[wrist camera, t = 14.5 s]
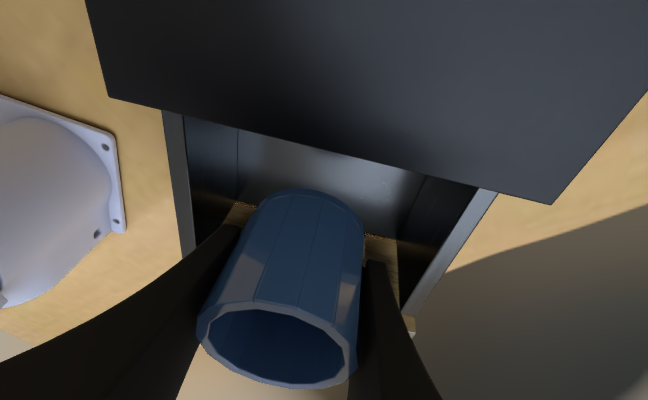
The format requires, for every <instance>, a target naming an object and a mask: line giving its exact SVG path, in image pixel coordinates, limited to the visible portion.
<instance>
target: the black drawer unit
mask: <svg viewBox="0 0 648 400" xmlns="http://www.w3.org/2000/svg"><path fill="white" fill-rule="evenodd" d="M85 4H86V8H87V12H88V16H89V20H90V24H91V28H92V32H93V36H94V40H95V44H96V48H97V52H98V57H99V61H100V65H101V69H102V73H103V77H104V81H105V85H106V89H107V93H108V96H109V97H110V98H114V99H118V100H122V101H126V102H131V103H135V104H139V105H143V106H147V107H151V108H155V109H159V110H163V111H167V112H171V113H175V114H180V115H184V116H188V117H192V118H196V119H200V120H204V121H208V122H212V123H216V124H220V125H224V126H229V127H233V128H237V129H241V130H245V131H249V132H253V133H257V134H261V135H265V136H269V137H273V138H278V139H282V140H286V141H290V142H294V143H298V144H302V145H306V146H310V147H314V148H318V149H322V150H327V151H331V152H335V153H339V154H343V155H347V156H351V157H355V158H359V159H363V160H367V161H371V162H376V163H380V164H384V165H388V166H392V167H396V168H400V169H404V170H408V171H412V172H416V173H420V174H425V175H429V176H433V177H437V178H441V179H445V180H449V181H453V182H457V183H461V184H465V185H469V186H474V187H478V188H482V189H486V190H490V191H494V192H498V193H502V194H506V195H510V196H514V197H518V198H523V199H527V200H531V201H535V202H539V203H543V204H547V205H552V204H553V203H554V202H555V200H556V199H557V198H558V197H559V196H560V194H561V193H562V192H563V191H564V190H565V188H566V187H567V186H568V185H569V184H570V182H571V181H572V180H573V179H574V178H575V177H576V175H577V174H578V173H579V172H580V171H581V169H582V168H583V167H584V166H585V165H586V163H587V162H588V161H589V160H590V159H591V157H592V156H593V155H594V154H595V153H596V152H597V150H598V149H599V148H600V147H601V146H602V144H603V143H604V142H605V141H606V140H607V138H608V137H609V136H610V135H611V134H612V132H613V131H614V130H615V129H616V128H617V127H618V125H619V124H620V123H621V122H622V121H623V119H624V118H625V117H626V116H627V115H628V113H629V112H630V111H631V110H632V109H633V107H634V106H635V105H636V104H637V103H638V102H639V100H640V99H641V98H642V97H643V96H644V94H645V93H646V92H647V91H648V0H85Z"/></svg>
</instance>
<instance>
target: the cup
mask: <svg viewBox="0 0 648 400" xmlns="http://www.w3.org/2000/svg"><path fill="white" fill-rule="evenodd" d="M365 239H366V238H365V231H364V227H363V225H362V223H361V221H360V219H359V217H358V216H357V214H356V213H355V212H354V211H353V210H352V209H351V208H350V207H349V206H348V205H347V204H345V203H344V202H343V201H341V200H340V199H338V198H336V197H334V196H332V195H330V194H327V193H325V192H322V191H318V190H313V189H307V188H292V189H285V190H282V191H278V192H276V193H273V194H271V195H270V196H268V197H266V198H265V199H264V200H263V201H262V202H260V204H259V205H258V206H257V208H256V209H255V211H254V213H252V214H251V216H250V218H249V220H248V222H247V223H246V225H245V227H244V229H243V231H242V233H241V235H240V237H239V239H238V240H237V242H236V244H235V246H234V248H233V250H232V252H231V254H230V256H229V258H228V259H227V261H226V263H225V265H224V267H223V269H222V271H221V273H220V275H219V276H218V278H217V280H216V282H215V284H214V286H213V288H212V290H211V292H210V294H209V295H208V297H207V299H206V301H205V303H204V305H203V307H202V309H201V311H200V313H199V314H198V316H197V324H196V333H195V335H196V337H197V339H198V340H199V342H200V343H201V345H202V346H203V348H204V349H205V351H206V352H207V354H209V355H210V356H211V357H212V358H214V359H215V360H217V361H218V362H220V363H221V364H222V365H224V366H225V367H227V368H228V369H230V370H232V371H233V372H236V373H238V374H241V375H243V376H246V377H248V378H250V379H253V380H255V381H258V382H261V383H265V384H269V385H275V386H280V387H285V388H289V389H323V388H326V387H330V386H333V385H336V384H340V383H343V382H345V381H347V379H348V378H349V377H350V376H351V375H352V374H353V373H354V372H355V371H356V370H357V369H358V366H359V354H360V338H361V321H362V305H363V282H364V268H365V255H366V252H365Z"/></svg>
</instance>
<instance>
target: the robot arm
mask: <svg viewBox="0 0 648 400" xmlns="http://www.w3.org/2000/svg"><path fill="white" fill-rule="evenodd" d="M111 231H112V232H115V233H118V234H123V233H124V232H125V231H126V222H125V214H124V205H123V197H122V189H121V181H120V173H119V164H118V156H117V148H116V141H115V138H114V136H113V135H112V134H111V133H109V132H107V131H104V130H101V129H98V128H95V127H92V126H89V125H87V124H84V123H81V122H78V121H75V120H72V119H69V118H67V117H64V116H61V115H58V114H55V113H52V112H49V111H47V110H44V109H41V108H38V107H35V106H32V105H29V104H27V103H24V102H21V101H18V100H15V99H12V98H9V97H7V96H4V95H1V94H0V309H1V308H7V307H12V306H16V305H20V304H23V303H25V302H28V301H30V300H32V299H35V298H37V297H39V296H41V295H42V294H44V293H46V292H47V291H49V290H50V289H52V288H53V287H54V286H55V285H56V284H58V283H59V282H60V281H61V280H62V279H63V278H64V277H65V276H66V275H67V274H68V273H69V272H70V271H71V270H72V269H73V268H74V267H75V266H76V265H77V264H78V263H79V262H80V261H81V260H82V259H83V258H84V257H85V256H86V255H87V254H88V253H89V252H90V251H91V250H92V249H93V248H94V247H95V246H96V245H97V244H98V243H99V242H100V241H101V240H103V239H104V238H105V237H106V236H107V235H108V234H109V233H110V232H111ZM240 233H241V227H237V226H233V225H229V224H223V225H221V226H220V227H219V228H218V229H217V230H216V231H215V232H214V233H213V234H212V235H211V236H209V237H208V238H207V239H206V240H205V241H204V242H203V243H201V244H200V245H199V246H198V247H197V248H196V249H194V250H193V251H192V252H191V253H190V254H188V255H187V256H186V257H185V258H183V259H182V260H181V261H180V262H178V263H177V264H176V265H175V266H173V267H172V268H170V269H169V270H168V271H166V272H165V273H164V274H162V275H161V276H160V277H158V278H157V279H155V280H154V281H153V282H151V283H150V284H148V285H147V286H145V287H144V288H142V289H141V290H139V291H138V292H136V293H135V294H133V295H131V296H130V297H128V298H127V299H125V300H124V301H122V302H120V303H118V304H117V305H115V306H113V307H112V308H110V309H108V310H107V311H105V312H103V313H101V314H100V315H98V316H96V317H94V318H92V319H90V320H89V321H87V322H85V323H83V324H81V325H79V326H77V327H75V328H73V329H71V330H69V331H67V332H65V333H63V334H61V335H59V336H57V337H55V338H53V339H51V340H49V341H47V342H45V343H43V344H41V345H39V346H36V347H34V348H32V349H30V350H27V351H25V352H23V353H21V354H19V355H16V356H14V357H12V358H10V359H7V360H5V361H3V362H1V363H0V400H176V397H177V395H178V393H179V390H180V388H181V385H182V383H183V381H184V378H185V376H186V373H187V371H188V369H189V367H190V364H191V362H192V359H193V357H194V355H195V352H196V350H197V348H198V346H199V344H200V342H199V340H198V339H197V337H196V335H195V333H196V324H197V316H198V314H199V313H200V311H201V309H202V307H203V305H204V303H205V301H206V299H207V297H208V295H209V294H210V292H211V290H212V288H213V286H214V284H215V282H216V280H217V278H218V276H219V275H220V273H221V271H222V269H223V267H224V265H225V263H226V261H227V259H228V258H229V256H230V254H231V252H232V250H233V248H234V246H235V244H236V242H237V240H238V239H239V237H240ZM347 400H443V399H442V398H441V396H440V395H439V393H438V391H437V389H436V387H435V385H434V383H433V382H432V380H431V378H430V376H429V374H428V372H427V370H426V369H425V367H424V365H423V362H422V360H421V358H420V356H419V354H418V352H417V350H416V348H415V346H414V343H413V341H412V339H411V336H410V334H409V332H408V329H407V327H406V324H405V322H404V319H403V317H402V314H401V311H400V309H399V306H398V303H397V300H396V297H395V294H394V291H393V288H392V285H391V282H390V278H389V275H388V271H387V267H386V265H385V263H384V262H380V261H376V260H371V259H368V261H367V263H366V266H365V268H364V282H363V305H362V321H361V338H360V354H359V366H358V369H357V370H356V371H355V372H354V373H353V374H352V375H351V376H350V377H349V389H348V399H347Z"/></svg>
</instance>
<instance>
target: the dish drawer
mask: <svg viewBox="0 0 648 400" xmlns="http://www.w3.org/2000/svg"><path fill="white" fill-rule="evenodd" d="M161 112H162V119H163V126H164V133H165V140H166V147H167V154H168V161H169V168H170V175H171V182H172V189H173V196H174V203H175V210H176V217H177V224H178V231H179V238H180V245H181V252H182V259H183V258H185V257H186V256H187V255H188V254H190V253H191V252H192V251H193V250H194V249H196V248H197V247H198V246H199V245H200V244H201V243H203V242H204V241H205V240H206V239H207V238H208V237H209V236H211V235H212V234H213V233H214V232H215V231H216V230H217V229H218V228H219V227H220V226H221V225H223V224H229V225H233V226H237V227H241V233H242V231H243V229H244V227H245V225H246V223H247V222H248V220H249V218H250V216H251V214H252V213H254V211H255V209H256V208H252V207H248V206H244V205H239V204H235V202H236V201H240V202H244V203H248V204H252V205H256V206H258V205H259V204H260V202H262V201H263V200H264V199H265V198H266V197H268V196H270V195H271V194H273V193H276V192H278V191H282V190H285V189H292V188H307V189H313V190H318V191H322V192H325V193H327V194H330V195H332V196H334V197H336V198H338V199H340V200H341V201H343V202H344V203H345V204H347V205H348V206H349V207H350V208H351V209H352V210H353V211H354V212H355V213H356V214H357V216H358V217H359V219H360V221H361V223H362V225H363V227H364V231H365V232H366V233H370V234H375V235H379V236H383V237H387V238H391V239H395V240H396V243H394V242H390V241H386V240H382V239H378V238H374V237H370V236H366V235H365V238H366V239H365V252H366V255H365V266H366V263H367V261H368V259H371V260H376V261H380V262H384V263H385V265H386V267H387V271H388V275H389V278H390V282H391V285H392V288H393V291H394V294H395V297H396V300H397V303H398V306H399V309H400V311H401V314H402V317H403V319H404V322H405V324H406V327H407V329H408V332H409V334H410V336H411V339H412V338H413V336H414V335H415V334H416V328H415V315H416V314H417V312H418V311H419V309H420V308H421V306H422V305H423V304H424V302H425V301H426V299H427V298H428V296H429V295H430V293H431V292H432V290H433V289H434V288H435V286H436V285H437V283H438V282H439V280H440V279H441V277H442V276H443V274H444V273H445V271H446V270H447V268H448V267H449V266H450V264H451V263H452V261H453V260H454V258H455V257H456V255H457V254H458V252H459V251H460V249H461V248H462V246H463V245H464V244H465V242H466V241H467V239H468V238H469V236H470V235H471V233H472V232H473V230H474V229H475V227H476V226H477V224H478V223H479V221H480V220H481V219H482V217H483V216H484V214H485V213H486V211H487V210H488V208H489V207H490V205H491V204H492V202H493V201H494V199H495V198H496V197H497V195H498V194H499V193H498V192H494V191H490V190H486V189H482V188H478V187H474V186H469V185H465V184H461V183H457V182H453V181H449V180H445V179H441V178H437V177H433V176H429V175H425V174H420V173H416V172H412V171H408V170H404V169H400V168H396V167H392V166H388V165H384V164H380V163H376V162H371V161H367V160H363V159H359V158H355V157H351V156H347V155H343V154H339V153H335V152H331V151H327V150H322V149H318V148H314V147H310V146H306V145H302V144H298V143H294V142H290V141H286V140H282V139H278V138H273V137H269V136H265V135H261V134H257V133H253V132H249V131H245V130H241V129H237V128H233V127H229V126H224V125H220V124H216V123H212V122H208V121H204V120H200V119H196V118H192V117H188V116H184V115H180V114H175V113H171V112H167V111H163V110H161ZM241 233H240V235H241Z"/></svg>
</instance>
